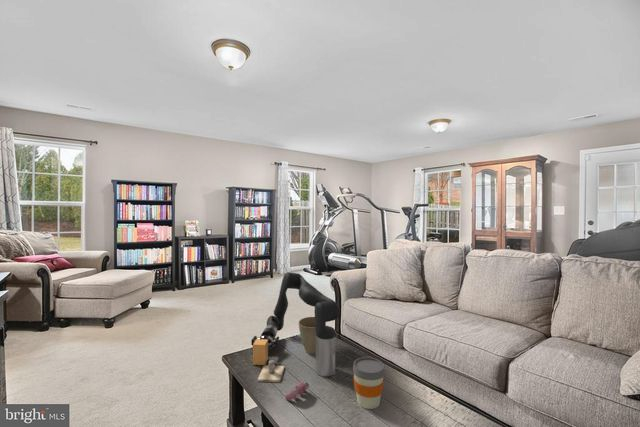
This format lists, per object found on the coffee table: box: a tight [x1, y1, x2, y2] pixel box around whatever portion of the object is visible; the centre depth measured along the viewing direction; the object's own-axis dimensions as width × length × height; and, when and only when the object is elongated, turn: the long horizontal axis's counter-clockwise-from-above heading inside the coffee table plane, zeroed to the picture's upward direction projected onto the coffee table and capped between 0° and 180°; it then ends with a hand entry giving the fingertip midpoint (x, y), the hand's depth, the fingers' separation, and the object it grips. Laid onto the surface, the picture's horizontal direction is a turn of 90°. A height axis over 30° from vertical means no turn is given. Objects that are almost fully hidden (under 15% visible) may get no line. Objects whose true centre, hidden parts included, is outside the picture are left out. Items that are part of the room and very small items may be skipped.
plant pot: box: [297, 316, 316, 355], centre depth 163 cm, size 15×15×16 cm
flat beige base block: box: [257, 359, 285, 383], centre depth 140 cm, size 10×12×6 cm
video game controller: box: [285, 380, 310, 401], centre depth 124 cm, size 10×5×7 cm, turn 143°
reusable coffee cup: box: [352, 356, 386, 410], centre depth 121 cm, size 13×13×15 cm
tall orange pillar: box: [252, 339, 269, 366], centre depth 152 cm, size 6×6×10 cm
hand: (262, 347), depth 155 cm, fingers open, 8 cm apart
